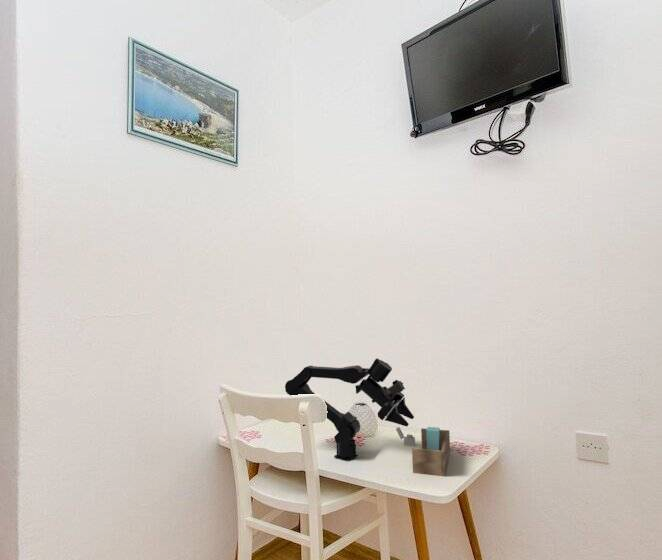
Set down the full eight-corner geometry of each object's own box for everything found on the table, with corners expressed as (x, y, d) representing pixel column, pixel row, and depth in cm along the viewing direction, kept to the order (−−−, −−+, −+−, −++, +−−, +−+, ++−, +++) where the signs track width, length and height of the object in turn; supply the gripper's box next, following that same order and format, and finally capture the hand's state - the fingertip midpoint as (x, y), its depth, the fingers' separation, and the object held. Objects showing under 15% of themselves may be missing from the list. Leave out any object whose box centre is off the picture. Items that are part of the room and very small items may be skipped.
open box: (413, 477, 135) (412, 449, 135) (422, 452, 156) (421, 428, 157) (445, 481, 131) (444, 452, 132) (450, 455, 153) (449, 430, 154)
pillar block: (427, 463, 143) (426, 430, 143) (428, 458, 146) (427, 426, 147) (439, 464, 141) (438, 431, 142) (440, 460, 145) (439, 427, 146)
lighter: (415, 448, 162) (414, 427, 162) (415, 449, 160) (414, 428, 160) (396, 447, 163) (396, 426, 163) (396, 449, 161) (395, 427, 162)
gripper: (381, 379, 141) (419, 410, 136) (394, 370, 158) (428, 398, 153) (362, 404, 143) (399, 436, 138) (378, 392, 160) (411, 421, 155)
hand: (410, 421), depth 146 cm, fingers open, 9 cm apart
